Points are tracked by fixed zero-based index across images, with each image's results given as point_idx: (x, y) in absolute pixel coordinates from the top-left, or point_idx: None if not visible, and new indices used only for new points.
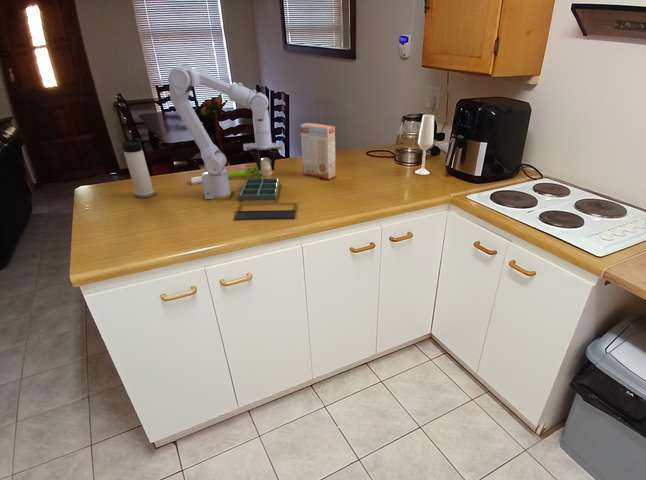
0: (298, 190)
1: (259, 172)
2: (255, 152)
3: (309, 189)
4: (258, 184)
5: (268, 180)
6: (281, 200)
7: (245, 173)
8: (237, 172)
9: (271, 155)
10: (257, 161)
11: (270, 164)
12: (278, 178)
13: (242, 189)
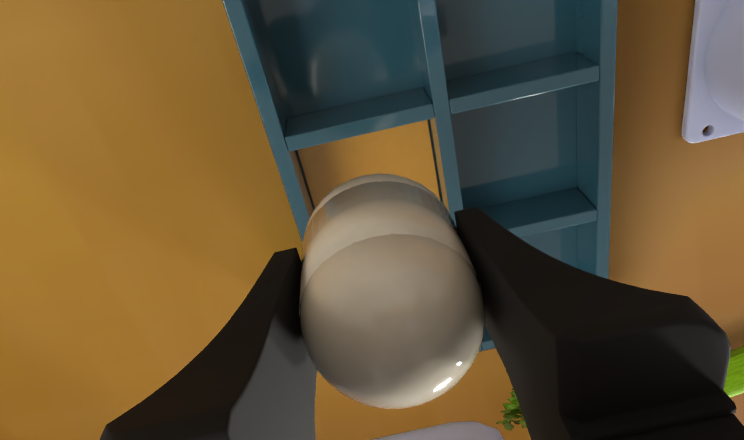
0: (156, 274)
1: (526, 426)
2: (613, 362)
3: (79, 309)
4: None
5: None
6: (191, 13)
7: None
8: None
9: (234, 385)
10: (519, 262)
11: (304, 289)
12: None
13: (611, 64)
